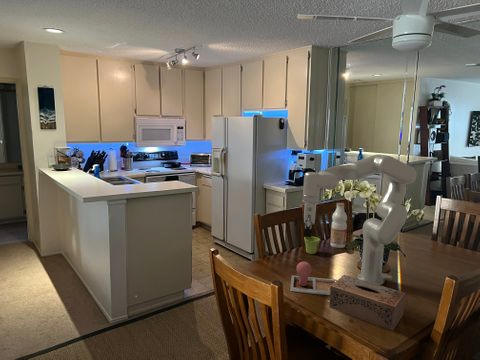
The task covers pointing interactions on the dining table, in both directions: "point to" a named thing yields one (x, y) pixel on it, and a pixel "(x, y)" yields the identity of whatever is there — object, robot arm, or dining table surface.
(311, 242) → the plant pot
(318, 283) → the rail frame
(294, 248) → the dining table surface
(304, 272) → the light bulb
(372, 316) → the tissue box cover
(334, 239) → the fruit juice
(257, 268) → the dining table surface
